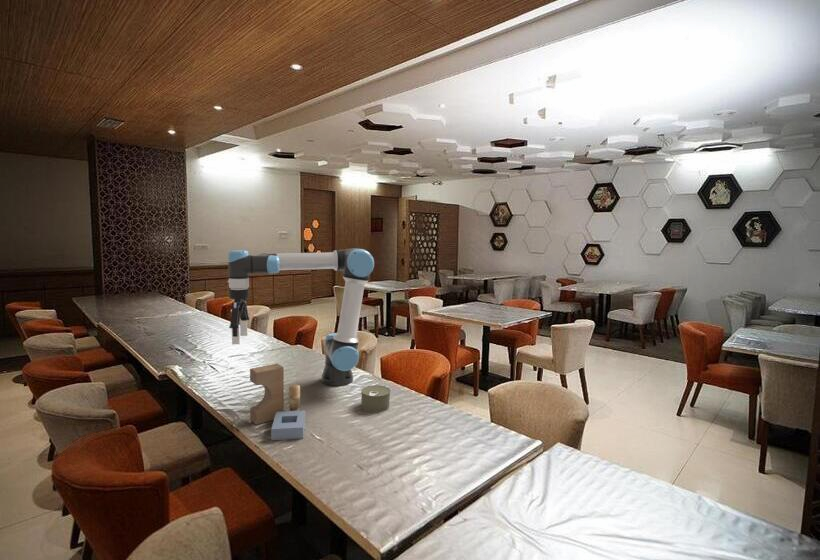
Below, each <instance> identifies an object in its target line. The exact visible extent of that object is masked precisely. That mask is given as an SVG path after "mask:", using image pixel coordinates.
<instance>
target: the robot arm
mask: <svg viewBox="0 0 820 560" xmlns="http://www.w3.org/2000/svg"><path fill="white" fill-rule="evenodd" d="M227 257H228V258H227V259H228V260H227V261H228V262H227V267H228V269H227V271H228V280H227V283H228V288H229V290H228V298H229V299H231V300H234V301H233V302H231V313H230V314H231V315H230V324H229V328H228V329H231V345H240V343H241V342H240V337H247V336H248V321H249V320H250V317H249V313H248V305H247V299H249V297H250V289H249V288H250V277H249V275H251V274H252V275H254V274H255V275H257V274H258V275H259V274H262V275H263V274H265V275H266V274H267V275H273V274H279V273H280V271H292V270H293V271H297V270H299V271H301V270H326V269H327V270H331V269H332V270H334V271H337V272H339V271H340V272H341V271H342V272H343V274H342V279H343V280H344V281H345V282H344V283H345V284H344V289H343V296H342V301H341V307H340V308H341V309H340V315H339V320H338V325H337V326H338V327H337V332H335V333H328V334H326V336H325V341H324V342H325V350H324V351H325V354H324V355H325V356H324V357H325V358H324V359H325V360H324V361H325V362H324V364H325V365H324V367H323V371H322V373H321V377H320V378H321V379H320V381H321V383H322V384H324V385H326V386H331V387H337V386H346V385H349V384H351V383H353V380H354V374H353V372H352V370H353V369H354V368H355V367H356V366H357V365H358V363H359V360H360V354H359V352H358V350H359V349H358V348H359V343H360V342H359V341H360V340H359V338H358V337H357V335H358V329H359V328H358V327H359V323H360V316H361V315H360V314H361V309H362V304H363V296H364V290H365V285H366V284H367V283H369V281H370V275H371V273H372V272H373V270H374V268H375V259H374V257H373V255H372V254H371V253H370V252H369V251H368V250H366V249H363V248H357V247H352V248H347V249H346V248H345V249H335V250H333V251H330V252H291V253H290V252H289V253H286V252H284V253H280V252H279V253H266V252H263V253H262V252H261V253H260V254H257V255H251V254H249V251H248V250H244V249H243V250H240V249H239V250H238V249H236V250H235V249H233V250H230V251H228V256H227Z"/></svg>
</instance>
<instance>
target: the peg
mask: <svg viewBox="0 0 820 560" xmlns="http://www.w3.org/2000/svg"><path fill="white" fill-rule="evenodd" d="M288 396H289V397H288V407H289V411H301V410H300V407H301V386H300V385H299V384H290V385H289V387H288Z"/></svg>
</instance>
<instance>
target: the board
mask: <svg viewBox="0 0 820 560" xmlns="http://www.w3.org/2000/svg"><path fill="white" fill-rule="evenodd" d="M272 421H273V423H272V425H271V428H270V430H271V431H270V432H271V433H270V434H271V435H270V436H271V437H270V439H271V441H282V440H283V441H285V440H300V439H301V440H302V439H304V434H305V425H306V410H304V409H303V410H299V411H290V410H286V411H285V410H284V411H280V412H276V415H275V418H274V420H272Z"/></svg>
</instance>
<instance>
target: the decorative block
mask: <svg viewBox="0 0 820 560" xmlns="http://www.w3.org/2000/svg"><path fill="white" fill-rule="evenodd" d="M284 370H285V367H284V366H282V365H281V364H279V363H272V364H267V365H263V366H257V367H252V368H250V369H249V380H250V382H251V383H253V384H254V385H255V386H262V387H263V388H264V394H263V395H264V396H263V397H262V398H261V400H260V402H258V403H257V404H256V405H254V406H252V407H250V409H249V415H250V418H249V419H250V421H251V422H252V423H253V424H255V425H259V424H261V425H262V424H263V423H264V424H265V423H267V422H268V423H269V422H271V421H274V418H275V415H276V412H280V411H285V409H284V407H285V403H284V401H285V399H284V396H285V393H284V392H285V391H284V390H285V388H284V387H285V386H284V385H285V378H284V376H285V373H284V372H285V371H284Z"/></svg>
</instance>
